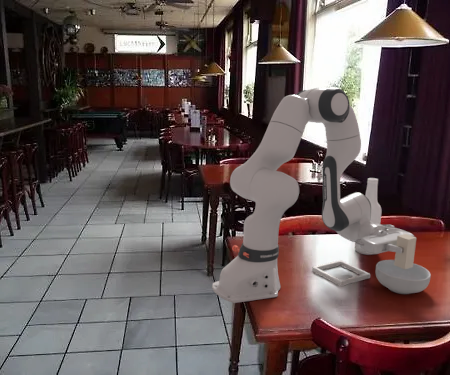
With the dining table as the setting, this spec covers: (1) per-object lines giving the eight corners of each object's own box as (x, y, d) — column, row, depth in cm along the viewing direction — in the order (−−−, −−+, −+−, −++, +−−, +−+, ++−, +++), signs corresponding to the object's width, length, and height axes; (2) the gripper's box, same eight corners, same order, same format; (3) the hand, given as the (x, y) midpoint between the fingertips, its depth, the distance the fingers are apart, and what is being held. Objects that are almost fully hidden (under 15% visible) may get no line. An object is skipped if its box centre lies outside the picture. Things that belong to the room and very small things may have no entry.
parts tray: (340, 286, 144) (341, 281, 144) (312, 270, 156) (312, 266, 156) (369, 277, 151) (370, 273, 151) (340, 263, 163) (340, 260, 163)
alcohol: (349, 250, 177) (356, 177, 171) (363, 245, 183) (370, 175, 176) (368, 256, 171) (376, 181, 164) (381, 252, 176) (389, 179, 169)
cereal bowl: (425, 306, 132) (428, 284, 131) (369, 292, 140) (371, 272, 138) (430, 285, 147) (432, 265, 145) (378, 274, 155) (381, 255, 153)
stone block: (404, 269, 139) (408, 239, 136) (394, 265, 142) (397, 235, 140) (412, 267, 141) (416, 237, 138) (402, 262, 144) (405, 234, 142)
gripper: (353, 232, 145) (387, 245, 133) (394, 223, 155) (429, 235, 143) (351, 250, 146) (385, 264, 135) (392, 240, 156) (426, 253, 145)
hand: (408, 249), depth 139 cm, fingers closed on stone block, 4 cm apart
